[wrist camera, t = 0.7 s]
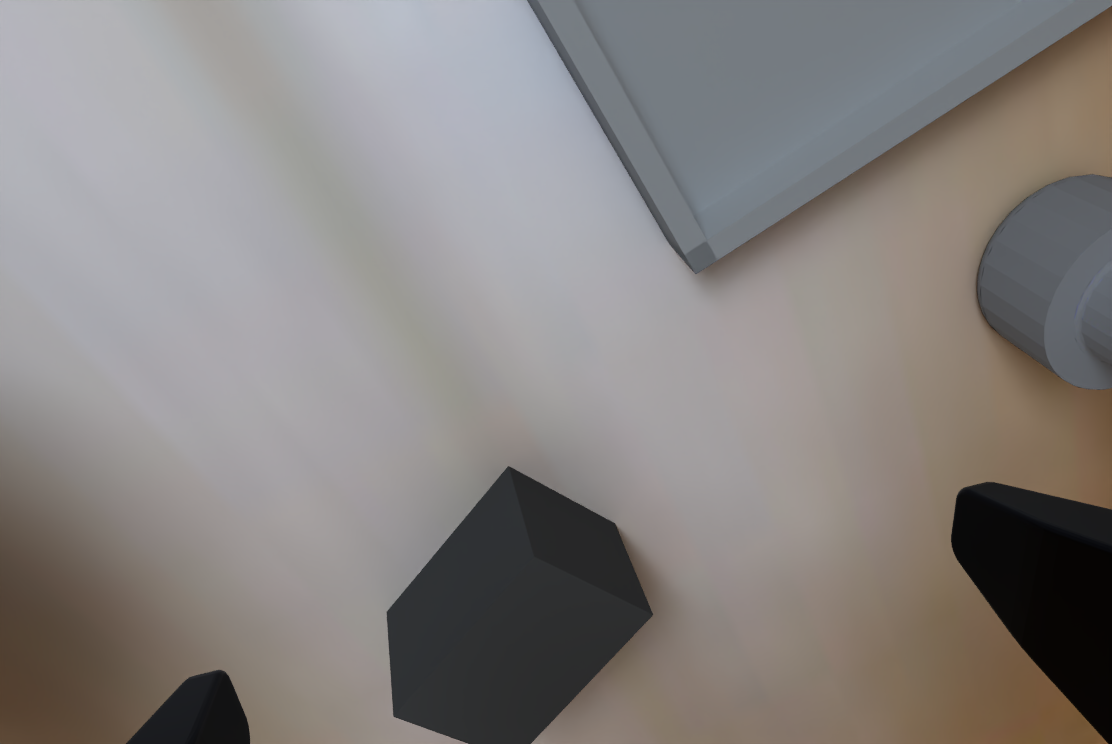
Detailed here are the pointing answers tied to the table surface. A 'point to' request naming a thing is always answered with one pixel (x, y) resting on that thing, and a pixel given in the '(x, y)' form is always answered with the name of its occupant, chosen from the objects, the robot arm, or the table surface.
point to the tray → (779, 92)
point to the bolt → (1055, 279)
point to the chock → (512, 616)
